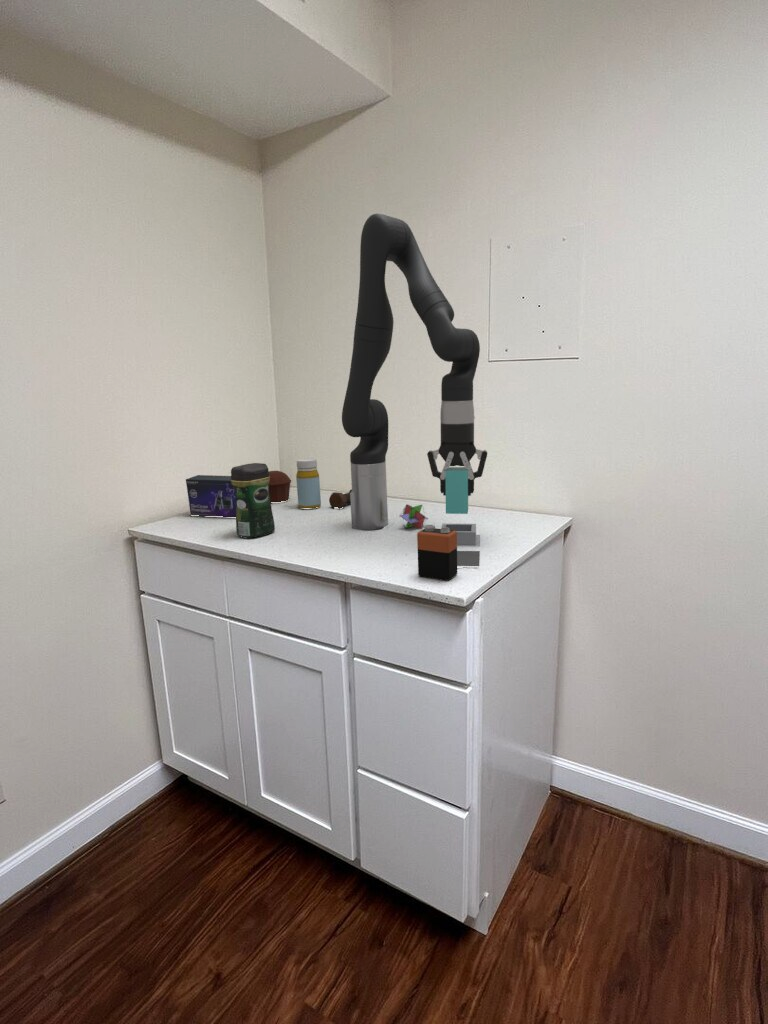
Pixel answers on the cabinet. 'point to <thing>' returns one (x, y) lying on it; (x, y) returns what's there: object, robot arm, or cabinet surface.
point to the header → (465, 534)
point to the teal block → (456, 490)
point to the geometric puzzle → (413, 516)
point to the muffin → (279, 486)
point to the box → (211, 496)
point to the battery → (437, 552)
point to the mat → (468, 558)
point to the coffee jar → (252, 500)
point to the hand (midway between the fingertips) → (457, 494)
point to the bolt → (339, 499)
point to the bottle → (308, 483)
